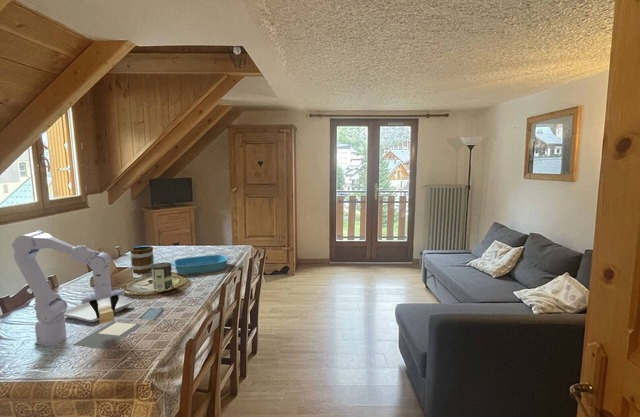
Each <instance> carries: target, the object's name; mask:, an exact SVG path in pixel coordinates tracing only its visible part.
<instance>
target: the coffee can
mask: <svg viewBox="0 0 640 417" xmlns="http://www.w3.org/2000/svg"><path fill="white" fill-rule="evenodd" d="M151 268H152V271H151V277H152V278H151V279H152V280H151V281H152V290H153V289H156V290H162V289H168V288H170V287H172V285H173V272H172V271H173V270H172V269H173V268H172V265H171V262H167V261H166V262H165V261H164V262H157V263H154V265H152V266H151Z"/></svg>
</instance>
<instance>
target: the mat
mask: <svg viewBox="0 0 640 417" xmlns="http://www.w3.org/2000/svg"><path fill="white" fill-rule="evenodd" d="M142 325H143V324H141V323H130V322H120V321H110V322H108V323H107V324H106V325H104V326H102V327H101V328H99V329H97V330H95V331H94V332H92V333H90V334H89V335H87V336H85V337H84V338H82V339H80V340H79V341H77V342H75V343H74V344H72V346H75V347H76V346H77V347H86V348H95V349H103V350H104V349H105V350H106V349H108V348H109V347H111V346H112V345H114V344H116V343H118V342H119V341H120V340H122V339H123V338H125V337H126V336H127V335H130V333H132V332H134V331H135V330H136V329H138V328H140V326H142Z"/></svg>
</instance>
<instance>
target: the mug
mask: <svg viewBox="0 0 640 417" xmlns="http://www.w3.org/2000/svg"><path fill="white" fill-rule="evenodd" d="M129 250H130V262H131V270H132V269H133V272H132V273H133V274H146V273H149V272H151V273H152V268H151V266H152V265H154V264H155V263H154V260H155V258H154V251H153V250H154V247H153V246H151V245H140V246H139V245H138V246H134V247H132V248H130V249H129Z"/></svg>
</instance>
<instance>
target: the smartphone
mask: <svg viewBox="0 0 640 417" xmlns="http://www.w3.org/2000/svg"><path fill="white" fill-rule="evenodd" d="M164 310H165V308H164V307H163V308H162V307H160V308H156V307H155V308H148V309H147V310H146V311H145V312H144V313H143V314H142V316H140V317H139V320H146V321H156V320H157V318H158V317H159V316H160V315H161V314H162V313H163V312H164Z"/></svg>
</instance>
